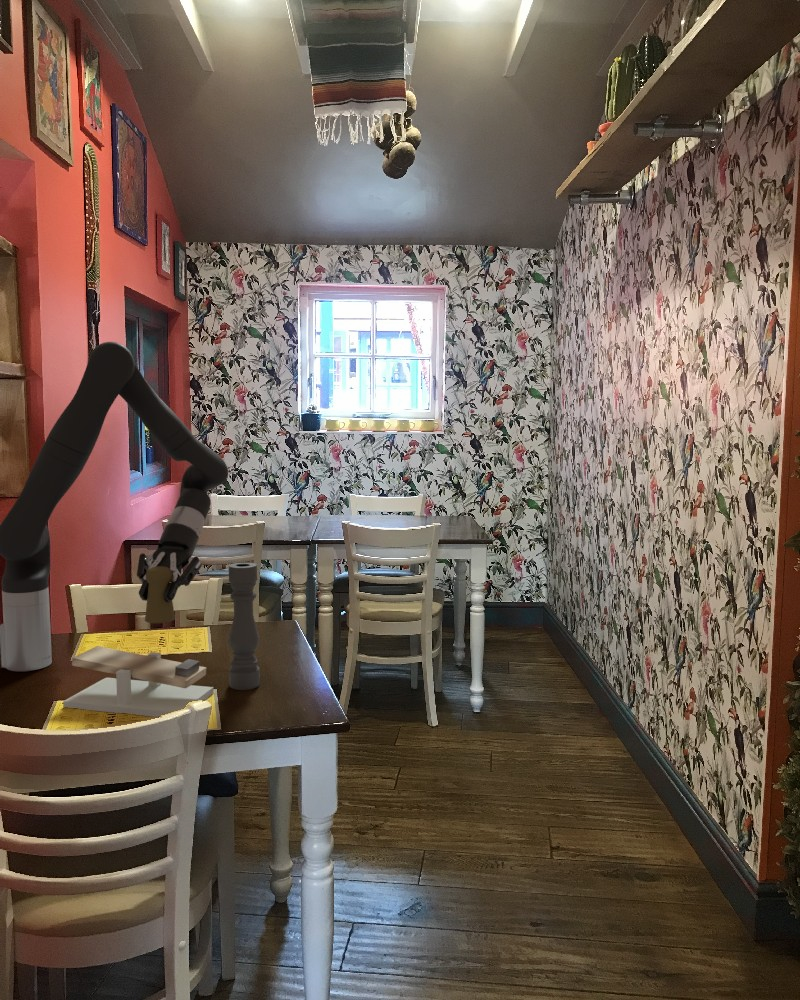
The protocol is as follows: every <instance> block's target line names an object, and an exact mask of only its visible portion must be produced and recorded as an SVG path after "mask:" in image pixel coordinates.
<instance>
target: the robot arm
mask: <svg viewBox="0 0 800 1000" xmlns="http://www.w3.org/2000/svg"><path fill="white" fill-rule="evenodd" d="M135 362H136V361H135V359H134V356H133V354H132V352H131V351H130V350H129V348H127V346H126V345H123V344H121V343H119V342H116V341H106V342H102V343H100V344H98V345H96V346H95V347H94V348H93V349H92V351H91V352H90V354H89V357H88V361H87V364H86V367H85V370H84V373H83V376H82V377H81V380H80V382H79V385H78V388H77V389H76V392H75V394H74V395H73V397H72V398H71V400H70V402H69V403H68V404H67V406H66V408H65V409H64V410H63V412H61V414H60V415H59V417H58V418H57V420H56V422H55V423H54V424H53V426H52V428H51V430H50V432H49V433H48V435H47V437H46V439H45V441H44V443H43V444H42V447H41V448H40V451H39V453H38V455H37V458H36V460H35V461H34V464H32V465H33V466H32V468H31V469H30V472H29V474H28V477H27V479H26V482H25V484H24V486H23V489H22V491H21V493H20V494H19V496H18V497H17V499H16V501H15V502H14V504H13V506H12V507H11V508H10V510H9V511H8V513H7V515H6V516H5V517H4V519H3V520H2V522H0V556H1V557H3V558H4V559H5V568H4V572H3V575H2V578H1V597H2V599H1V601H2V616H3V617H2V618H3V623H1V624H0V661H1V662H0V665H1V668H4V669H6V670H8V671H10V672H30V671H36V670H40V669H45V668H46V667H48V666H50V665H51V664H52V661H53V659H52V635H51V634H52V632H51V613H50V611H51V610H50V593H49V592H50V591H49V587H50V586H49V578H50V573H51V536H50V530H49V527H48V522H49V520H50V518H51V515H52V513H53V512H54V510H55V508H56V507H57V506H58V503H59V502H60V501H61V500H62V498H63V497H64V496H65V494H66V493H67V492H68V491H69V490H70V488H71V487H72V486H73V485H74V483H75V482H76V480H77V479H78V478H79V476H80V474H81V473H82V472H83V470H84V467H85V466H86V464H87V462H88V460H89V458H90V456H91V454H92V453H93V451H94V448H95V446H96V443H97V442H98V439H99V437H100V434H101V430H102V428H103V425H104V422H105V420H106V417H107V414H108V412H109V410H111V408H112V405H113V404H114V402H115V401H116V399H117V398H118V397H119V396H120V397H121V398H122V399H123V400H124V401H125V403H127V405H129V407H130V408H131V409H132V411H134V413H135V414H136V415H137V417H138V418H139V419H140V421H141V422H142V424H143V425H144V427H145V428H146V429H147V430H148V432H149V433H150V434H151V436H152V438H154V439H155V440H156V442H157V443H158V444H159V446H160V447H162V449H163V450H164V451H165V453H167V455H168V456H169V457H170V458H171V459H172V460H173V461H175V462H185V461H186V462H188V463H189V464H191V465H189V466H188V467H187V468H186V470H185V471H184V473H183V475H182V478H181V482H180V491H179V497H178V500H177V502H176V503H175V506H174V509H173V510H172V513H171V514H170V516H169V517H168V519H167V522H166V524H165V527H164V529H163V531H162V534H161V536H160V539H159V540H158V544H157V545H158V546H157V548H156V550H155V551H154V552H153V553H152V554H148V555H146V554H145V553H144V552H143V553H140V554H139V557H138V564H137V571H136V576H137V578H138V580H140V582H141V586H140V588H139V591H138V595H139V598H140V599H141V600H142V601H146V602H147V597H148V587H149V583H148V582H147V580H146V572H147V570H148V569H149V568H152V567H157V566H164V567H168V568H170V570H171V572H172V577H171V581H170V582H169V583H168V586H167V588H166V591H165V593H164V596H163V598H164V600H165V601H166V602H171V600H172V601H173V600H174V599H175V596H176V594H177V592H178V589H179V588H180V587H181V586H185V587H187V586H189V585H190V583H192V581H193V580H194V578H195V576H196V575H197V574H198V572H199V571H200V570H201V568H202V566H203V563H202V561H201V559H199V557H198V556H193V554H194V553H195V550H196V548H197V545H198V542H199V539H200V537H201V535H202V532H203V528H204V524H205V522H206V518H207V516H208V514H209V511H210V508H211V497H210V496H209V494H208V492H209V491H210V490H212V489H214V488H215V489H216V488H217V487H219V486H221V485H223V484H224V483H226V481H227V480H228V478H229V469H228V466H227V463H226V462H225V460H224V459H223V458H222V457H221V456H220V455H219V454H218V453H216V452H215V451H214V450H213V449H211V448H210V447H208V446H207V445H206V444H204V443H203V442H202V441H200V440H199V439H197V438H196V436H194V435H193V433H192V432H191V431H190V429H189V428H188V427H187V426H186V424H185V423H184V422H183V421H182V420H181V418H179V416H178V415H177V414H176V413H175V412H174V410H172V409H171V408H170V407H169V406H168V405H167V404H166V403H165V402H164V401H163V399H162V398H160V396H159V395H158V394H157V393H156V392H155V390H154V389H153V388H152V386H151V385H150V384H149V383H148V382H147V380H146V378H145V377H144V375H143V374H142V372H141V371H140V368H139V367H138V365H137V364H136V363H135ZM192 556H193V557H192ZM184 568H185V569H184ZM183 569H184V570H183Z"/></svg>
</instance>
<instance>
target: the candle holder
mask: <svg viewBox="0 0 800 1000" xmlns="http://www.w3.org/2000/svg"><path fill="white" fill-rule="evenodd" d="M257 581H258V564H257V563H255V562H235V563H231V564H229V565H228V582H229V584H230V586H231V589H232V593H231V594H230V595H229V596H230V597H229V598H230V599H231V600H232V602H233V619H232V622H231V623H232V624H231V628H230V633H229V636H228V645H229V647H230V649H231V650H232V651H233V652H232V654H233V655H234V656H233V658H232V659H231V660H230V663H229V665H230V668H229V670H228V683H229V684H228V685H229V688H231V689H232V690H237V691H248V690H253V689H256V688H258V687H259V686H260V683H261V682H260V681H261V680H260V679H261V678H260V677H261V676H260V675H261V673H260V671H261V670H260V667H259V666H258V665H259V660H258V659H257V657H256V655H255V653H256V650H257V648H258V646H259V643H260V636H259V633H258V627H257V623H256V621H255V616H254V600H255V599H256V598H257V593H256V592H255V591H254V589H255V586H256V585H257Z"/></svg>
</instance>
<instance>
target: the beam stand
mask: <svg viewBox="0 0 800 1000" xmlns="http://www.w3.org/2000/svg"><path fill="white" fill-rule="evenodd" d="M161 654H162V653H161V652H154V651H153V652H152V651H151V652H150V653H148V654H147V656H150V657H156V658H161V659H162V655H161ZM115 677H116V678H115ZM115 677H114V678H113V677H105V678H103V679H101V680H99V681H97V682H96V683H94V684H91V685H90V686H88V687H86V688H85V689H82V690H81V691H79V692H77V693H75V694H74V695H72V696H70V697H69V698H67V699H65V700H63V701H62V706H63V707H62V708H64V707H68V708H67V709H73V708H78V709H77V710H83V709H84V711H94V712H95V711H96V712H104V713H113V712H114V713H113V714H115V713H116V714H122V713H129V714H128V715H132V714H136V715H135V716H142V715H143V716H144V717H153V718H159V717H158V716H161V715H165V714H168V713H171V712H174V711H178V710H181V709H184V708H185V707H186V705H187V704H188V703H189V702H192V701H198V700H204V701H206V699H207V698H209V697H210V696H212V695H213V694H214V686H203V685H194V684H192V685H190V686H189V687H188V688H181V687H176V686H171V685H166V684H161V683H156V682H151V681H146V680H140V679H132V680H131V671H130V670H123V669H121V670H119V671H117V672H116V674H115ZM211 694H212V695H211Z"/></svg>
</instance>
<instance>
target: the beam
mask: <svg viewBox="0 0 800 1000" xmlns="http://www.w3.org/2000/svg"><path fill="white" fill-rule="evenodd" d="M71 659H72V661H71V666H73V667H79V668H82V669H87V670H88V669H89V670H93V671H98V672H103V673H108V674H114V675H116V672H117V671H119V670H121V669H123V670H130V671H131V680H140V681H151V682H156V683H161V684H166V685H171V686H176V687H181V688H188V687H189V686H190V685H194V684H195V683H196V682H197V681H199V680H201V679H202V678H204V677H205V676H207V667H206V666H203V665H202V666H201V665H200V663H201V662H200V660H196V659H191V658H190V659H189V658H188V659H186V660H185V661H183V662H180V661H176V660H175V661H174V660H170V659H166V658H165V659H164V658H162V657H161V658H156V657H150V656H148V655H145V654H139V653H134V652H129V651H124V650H119V649H115V648H110V647H109V648H108V647H105V646H104V647H103V646H100V645H99V646H98V645H97V646H95V647H92V648H90V649H88V650H86V651H84V652H82V653H79V654H78V655H76V656H74V657H72V658H71Z"/></svg>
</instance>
